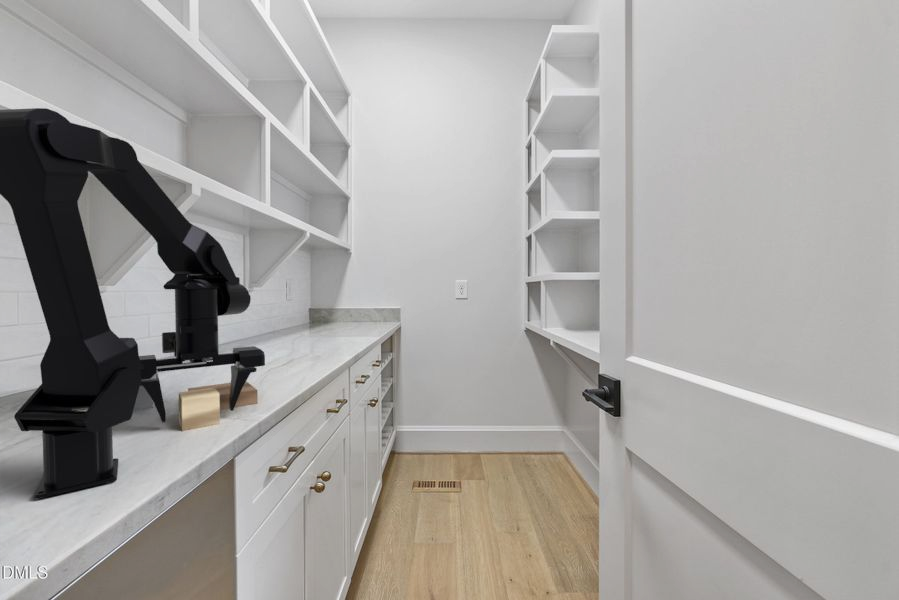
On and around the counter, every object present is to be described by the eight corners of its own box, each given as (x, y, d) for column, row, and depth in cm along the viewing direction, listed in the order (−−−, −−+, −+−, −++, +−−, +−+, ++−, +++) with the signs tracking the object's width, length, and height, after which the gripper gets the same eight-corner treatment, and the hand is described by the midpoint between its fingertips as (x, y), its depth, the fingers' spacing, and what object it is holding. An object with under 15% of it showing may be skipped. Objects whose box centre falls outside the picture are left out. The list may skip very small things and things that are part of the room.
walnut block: (257, 406, 75) (257, 390, 75) (194, 416, 69) (194, 399, 69) (245, 395, 83) (245, 380, 83) (188, 403, 76) (188, 388, 76)
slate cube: (152, 408, 73) (152, 380, 72) (117, 413, 70) (116, 384, 69) (151, 402, 77) (151, 376, 76) (117, 406, 73) (117, 379, 73)
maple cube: (220, 424, 64) (219, 393, 63) (182, 431, 60) (181, 398, 60) (214, 416, 67) (214, 387, 67) (179, 423, 64) (178, 392, 64)
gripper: (249, 313, 76) (251, 395, 76) (122, 318, 64) (124, 414, 64) (265, 316, 67) (266, 409, 67) (120, 322, 55) (123, 434, 56)
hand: (199, 415), depth 64 cm, fingers open, 9 cm apart
